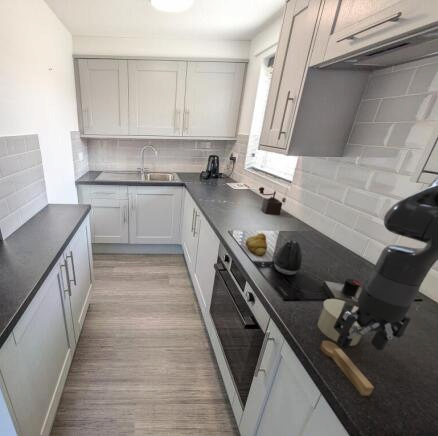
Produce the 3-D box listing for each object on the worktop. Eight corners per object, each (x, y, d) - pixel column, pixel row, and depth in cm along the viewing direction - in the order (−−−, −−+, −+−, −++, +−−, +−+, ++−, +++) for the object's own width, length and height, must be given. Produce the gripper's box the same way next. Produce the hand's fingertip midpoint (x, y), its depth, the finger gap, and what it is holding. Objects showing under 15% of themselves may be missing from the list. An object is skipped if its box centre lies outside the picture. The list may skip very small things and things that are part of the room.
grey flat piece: (357, 293, 89) (360, 286, 87) (373, 312, 80) (376, 304, 78) (322, 286, 92) (324, 280, 91) (332, 303, 83) (335, 296, 82)
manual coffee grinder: (274, 210, 179) (280, 187, 173) (279, 215, 169) (286, 191, 163) (253, 208, 181) (258, 186, 175) (257, 213, 171) (263, 190, 165)
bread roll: (268, 258, 111) (272, 243, 108) (247, 255, 113) (250, 240, 110) (262, 245, 123) (265, 232, 120) (243, 243, 125) (246, 230, 122)
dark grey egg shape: (267, 270, 101) (275, 239, 96) (277, 262, 108) (285, 233, 102) (292, 281, 94) (303, 249, 89) (301, 272, 101) (311, 241, 95)
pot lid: (357, 306, 72) (362, 295, 71) (378, 333, 62) (384, 322, 61) (317, 298, 75) (320, 288, 74) (331, 323, 65) (336, 312, 64)
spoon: (374, 396, 54) (380, 387, 53) (356, 395, 54) (361, 387, 53) (331, 344, 67) (335, 337, 66) (316, 344, 67) (319, 336, 66)
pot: (348, 323, 75) (356, 305, 72) (365, 350, 65) (376, 330, 63) (312, 315, 77) (319, 297, 74) (324, 340, 68) (332, 321, 65)
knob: (339, 289, 86) (343, 278, 84) (346, 287, 87) (351, 277, 85) (350, 296, 82) (355, 285, 80) (358, 294, 83) (363, 283, 82)
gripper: (401, 282, 53) (373, 334, 59) (341, 281, 53) (319, 333, 59) (439, 305, 46) (403, 361, 52) (371, 304, 46) (342, 360, 52)
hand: (358, 346), depth 56 cm, fingers open, 8 cm apart
